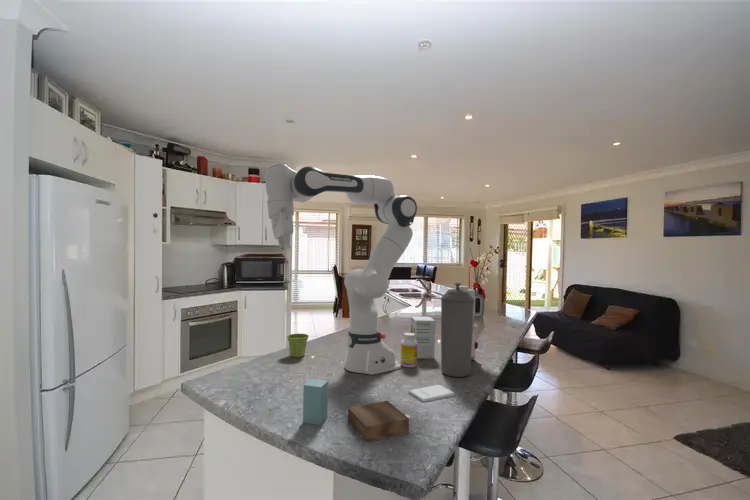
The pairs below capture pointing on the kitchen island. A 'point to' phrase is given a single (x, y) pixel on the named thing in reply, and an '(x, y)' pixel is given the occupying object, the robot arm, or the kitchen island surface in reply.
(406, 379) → the kitchen island surface
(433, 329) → the supplement box
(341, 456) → the kitchen island surface
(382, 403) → the walnut block
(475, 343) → the blender
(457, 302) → the canister
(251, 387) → the kitchen island surface
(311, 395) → the teal block
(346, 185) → the robot arm
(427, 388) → the external hard drive
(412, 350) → the supplement bottle
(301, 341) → the plant pot
